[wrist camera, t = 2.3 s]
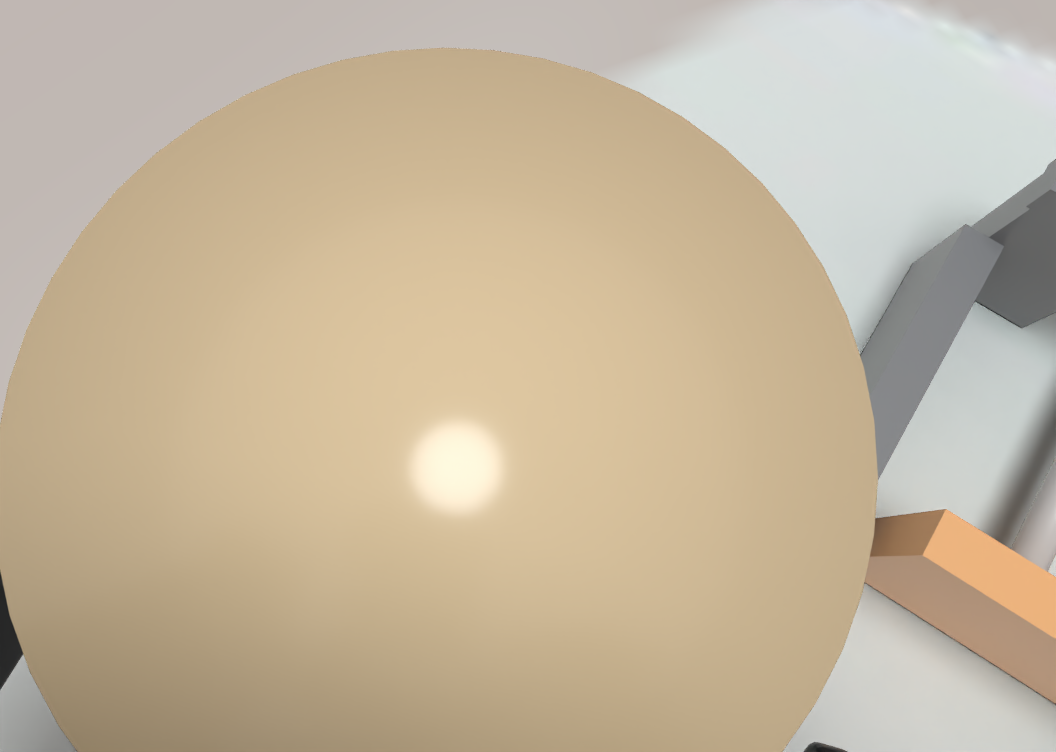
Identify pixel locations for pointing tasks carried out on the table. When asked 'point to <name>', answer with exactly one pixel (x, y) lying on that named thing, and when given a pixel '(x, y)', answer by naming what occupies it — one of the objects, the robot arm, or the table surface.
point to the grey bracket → (960, 301)
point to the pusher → (978, 584)
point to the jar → (437, 432)
